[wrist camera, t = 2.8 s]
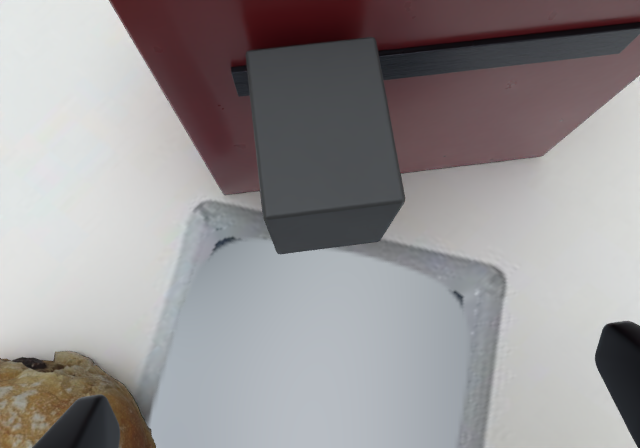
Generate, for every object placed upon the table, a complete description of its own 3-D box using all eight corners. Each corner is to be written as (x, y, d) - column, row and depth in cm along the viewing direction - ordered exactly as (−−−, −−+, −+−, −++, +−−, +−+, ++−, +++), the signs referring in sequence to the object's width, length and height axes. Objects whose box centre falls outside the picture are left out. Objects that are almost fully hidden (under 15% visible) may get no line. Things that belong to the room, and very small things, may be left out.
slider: (380, 242, 14) (406, 201, 10) (277, 255, 14) (262, 219, 10) (359, 115, 15) (375, 34, 11) (262, 127, 15) (244, 48, 11)
